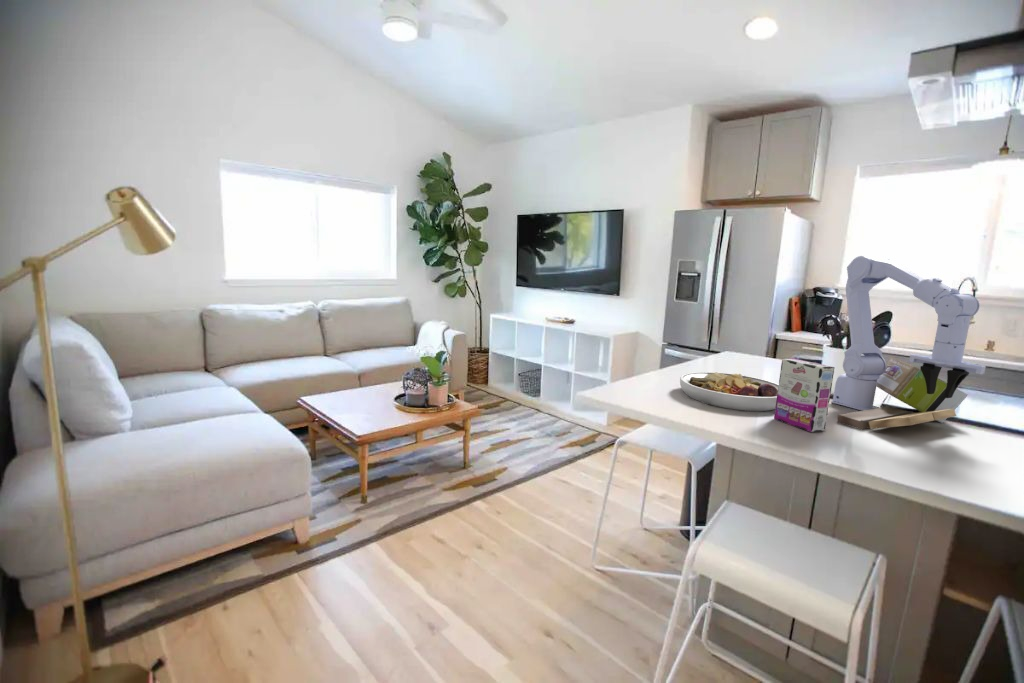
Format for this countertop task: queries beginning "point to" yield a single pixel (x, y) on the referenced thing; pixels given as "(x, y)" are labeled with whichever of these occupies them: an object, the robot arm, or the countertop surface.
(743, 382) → the bowl
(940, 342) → the robot arm
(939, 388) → the tea box
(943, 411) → the plank
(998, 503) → the countertop surface
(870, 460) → the countertop surface
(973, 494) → the countertop surface
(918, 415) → the plank
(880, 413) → the floor board
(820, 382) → the candy bar box
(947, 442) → the countertop surface
